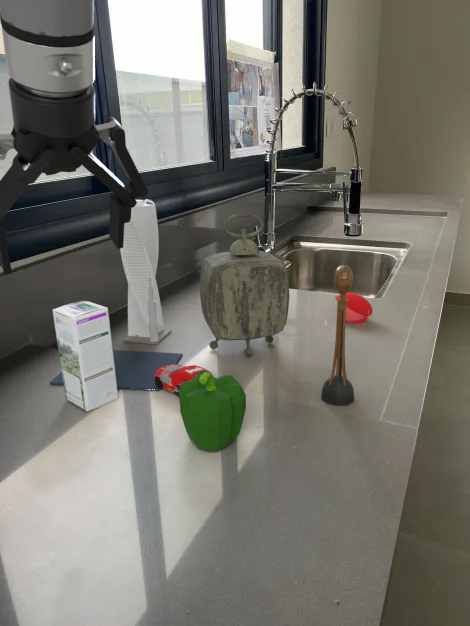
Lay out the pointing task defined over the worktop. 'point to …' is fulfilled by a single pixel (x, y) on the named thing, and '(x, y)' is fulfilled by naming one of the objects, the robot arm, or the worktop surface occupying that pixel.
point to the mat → (136, 368)
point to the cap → (357, 308)
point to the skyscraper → (142, 275)
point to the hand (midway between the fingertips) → (63, 253)
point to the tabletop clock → (244, 291)
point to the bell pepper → (212, 410)
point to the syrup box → (86, 354)
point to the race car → (176, 376)
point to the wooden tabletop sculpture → (340, 346)
